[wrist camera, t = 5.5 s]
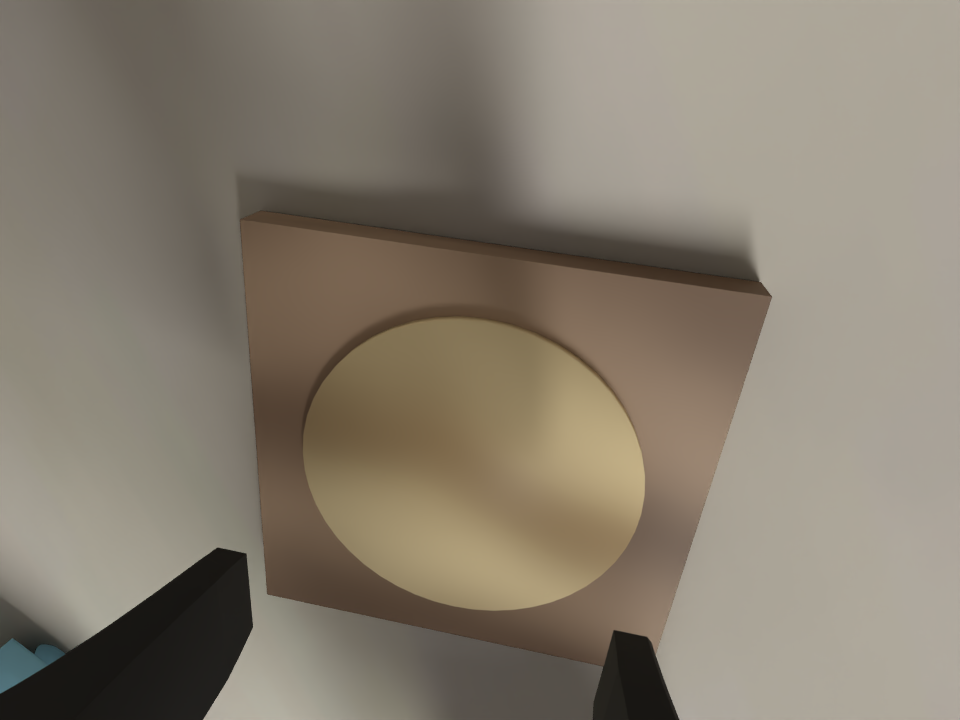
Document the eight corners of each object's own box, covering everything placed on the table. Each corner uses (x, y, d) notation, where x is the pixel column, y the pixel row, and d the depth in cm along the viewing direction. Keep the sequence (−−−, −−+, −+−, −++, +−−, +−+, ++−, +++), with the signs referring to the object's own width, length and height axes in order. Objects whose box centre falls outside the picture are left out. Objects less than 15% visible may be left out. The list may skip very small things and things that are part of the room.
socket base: (646, 647, 19) (649, 684, 18) (281, 571, 21) (262, 601, 19) (760, 282, 14) (775, 301, 13) (260, 210, 15) (233, 222, 14)
